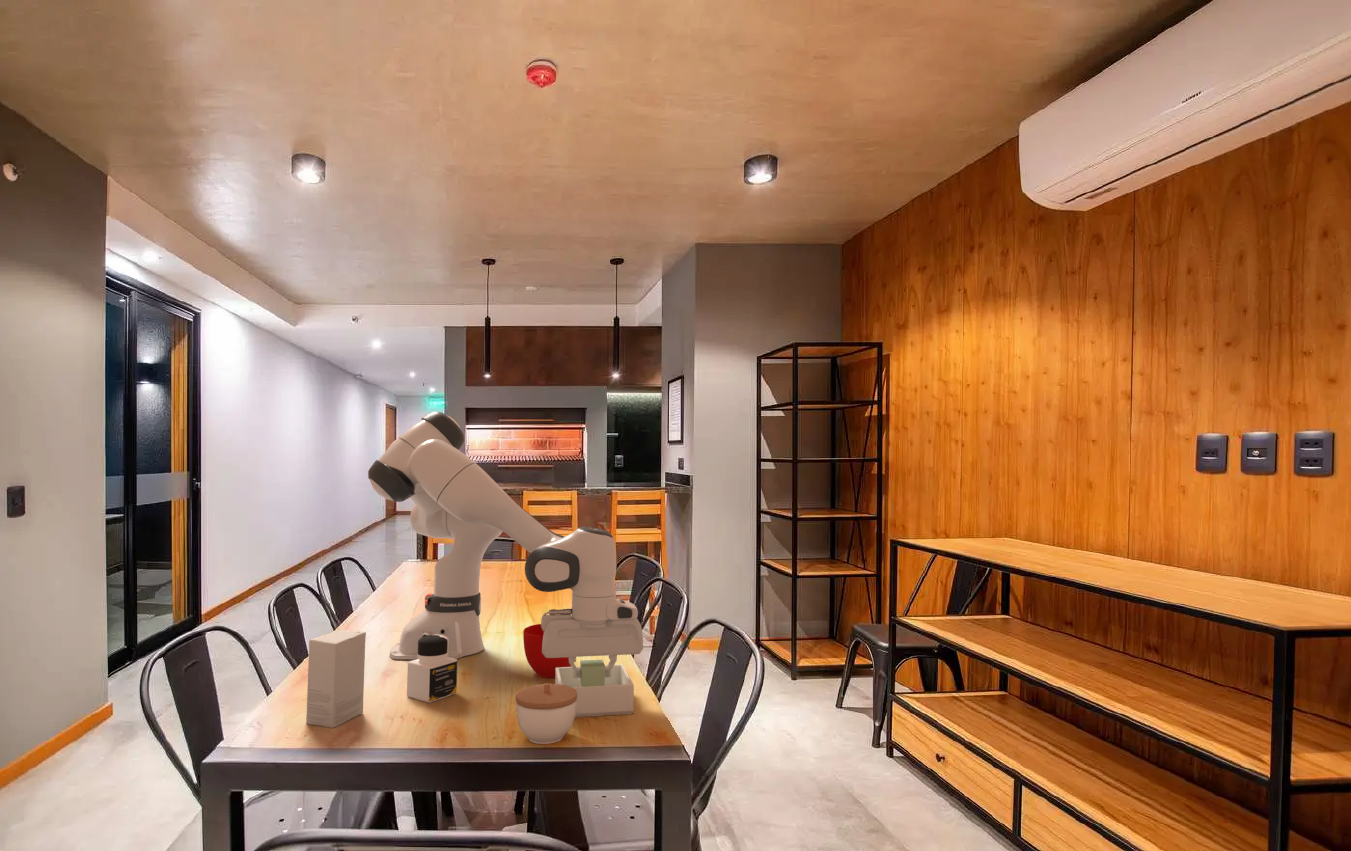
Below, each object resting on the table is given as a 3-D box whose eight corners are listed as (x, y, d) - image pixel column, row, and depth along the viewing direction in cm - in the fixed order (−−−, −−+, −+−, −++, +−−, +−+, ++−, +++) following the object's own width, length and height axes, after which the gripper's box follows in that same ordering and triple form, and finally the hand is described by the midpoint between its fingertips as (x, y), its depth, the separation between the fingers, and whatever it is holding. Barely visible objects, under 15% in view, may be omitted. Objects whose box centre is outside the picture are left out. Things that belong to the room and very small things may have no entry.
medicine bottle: (429, 703, 145) (431, 642, 145) (405, 696, 149) (407, 637, 149) (457, 693, 151) (458, 635, 151) (434, 687, 155) (435, 630, 155)
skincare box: (337, 709, 141) (340, 628, 141) (366, 713, 139) (368, 631, 139) (303, 724, 133) (307, 638, 133) (333, 729, 131) (336, 641, 131)
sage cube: (581, 689, 143) (582, 666, 143) (579, 682, 148) (580, 660, 148) (604, 688, 144) (604, 665, 144) (601, 681, 149) (602, 659, 149)
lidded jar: (525, 725, 134) (526, 673, 135) (582, 727, 133) (583, 676, 134) (506, 748, 123) (507, 692, 124) (568, 751, 122) (569, 694, 123)
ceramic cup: (578, 659, 177) (578, 618, 178) (581, 681, 161) (581, 635, 161) (523, 661, 175) (524, 619, 176) (521, 683, 158) (522, 637, 159)
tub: (559, 718, 138) (559, 689, 138) (555, 694, 151) (555, 667, 152) (633, 713, 141) (633, 684, 141) (622, 690, 155) (622, 664, 155)
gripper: (542, 612, 141) (540, 684, 141) (645, 609, 146) (644, 679, 145) (540, 606, 148) (539, 675, 147) (640, 603, 152) (638, 670, 151)
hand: (592, 677), depth 146 cm, fingers closed on sage cube, 4 cm apart
